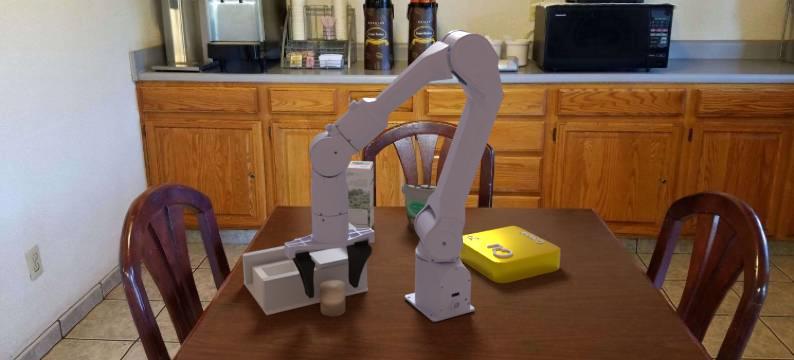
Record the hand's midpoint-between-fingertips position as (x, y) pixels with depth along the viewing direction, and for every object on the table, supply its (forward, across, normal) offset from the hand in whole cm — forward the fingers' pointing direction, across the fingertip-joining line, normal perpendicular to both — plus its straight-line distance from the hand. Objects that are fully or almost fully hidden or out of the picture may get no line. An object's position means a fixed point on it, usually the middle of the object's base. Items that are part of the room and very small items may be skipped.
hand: (331, 290), depth 102 cm
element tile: (+4, -37, -2) cm, 37 cm away
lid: (-2, -4, -10) cm, 11 cm away
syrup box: (+4, -20, -32) cm, 38 cm away
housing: (+4, +1, -10) cm, 11 cm away
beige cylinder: (+4, 0, 0) cm, 4 cm away
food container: (+4, -32, -24) cm, 40 cm away
